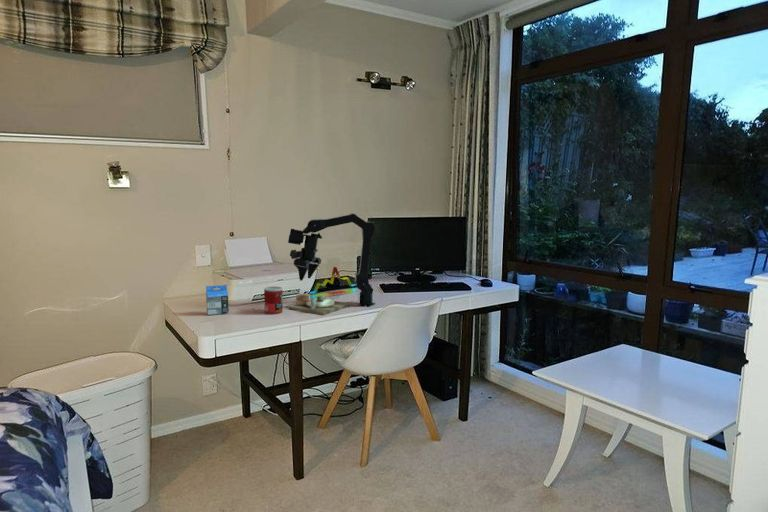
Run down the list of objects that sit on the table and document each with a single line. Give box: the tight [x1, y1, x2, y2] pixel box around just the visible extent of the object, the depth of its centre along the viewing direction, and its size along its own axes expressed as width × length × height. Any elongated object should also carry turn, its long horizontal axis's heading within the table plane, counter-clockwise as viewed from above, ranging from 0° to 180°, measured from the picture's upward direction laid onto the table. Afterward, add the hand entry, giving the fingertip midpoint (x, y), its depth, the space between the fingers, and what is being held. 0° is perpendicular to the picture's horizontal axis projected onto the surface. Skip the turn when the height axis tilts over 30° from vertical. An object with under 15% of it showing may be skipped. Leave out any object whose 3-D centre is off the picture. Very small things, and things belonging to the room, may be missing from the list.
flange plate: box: [295, 293, 335, 308], centre depth 224 cm, size 18×13×4 cm
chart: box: [304, 266, 357, 299], centre depth 248 cm, size 30×3×15 cm, turn 131°
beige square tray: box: [288, 299, 351, 316], centre depth 224 cm, size 20×20×6 cm
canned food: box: [263, 286, 284, 315], centre depth 214 cm, size 8×8×11 cm
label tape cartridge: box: [205, 284, 230, 316], centre depth 211 cm, size 9×4×12 cm, turn 114°
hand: (305, 279), depth 224 cm, fingers open, 9 cm apart
